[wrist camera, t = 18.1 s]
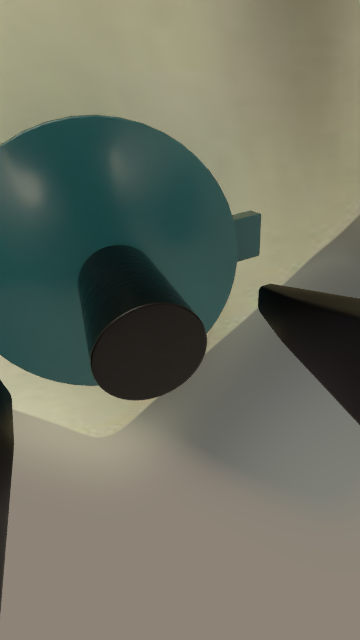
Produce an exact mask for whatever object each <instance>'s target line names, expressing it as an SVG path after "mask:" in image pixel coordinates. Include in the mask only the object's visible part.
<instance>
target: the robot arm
mask: <svg viewBox="0 0 360 640" xmlns="http://www.w3.org/2000/svg"><path fill="white" fill-rule="evenodd" d="M258 308H259V311H260V313H261V314H262V315H263V317H264V318H265V319H266V321H267V322H268V324H269V325H270V326H271V328H272V329H273V330H274V332H275V333H276V334H277V336H278V337H279V338H280V339H281V341H282V342H283V343H284V344H285V345H286V346H287V347H288V348H289V349H290V351H291V352H292V353H293V354H294V355H295V356H296V357H297V358H298V359H299V360H300V361H301V362H302V363H303V365H304V366H305V367H306V368H307V369H308V370H309V371H310V372H311V373H312V374H313V375H314V376H315V378H317V380H318V381H319V382H320V383H321V384H322V385H323V386H324V387H325V388H326V389H327V390H328V391H329V393H330V394H331V395H332V396H333V397H334V398H335V399H336V400H337V401H338V402H339V403H340V404H341V405H342V407H343V408H344V409H345V410H346V411H347V412H348V413H349V414H350V415H351V416H352V417H353V418H354V419H355V420H356V422H358V424H359V425H360V299H358V298H352V297H346V296H340V295H335V294H328V293H323V292H317V291H311V290H304V289H299V288H293V287H287V286H281V285H275V284H268V285H265V286H262V287H260V289H259V297H258ZM13 451H14V434H13V415H12V398H11V395H10V393H9V391H8V390H7V388H6V387H5V386H4V384H3V383H2V382H1V380H0V611H1V598H2V586H3V574H4V562H5V550H6V537H7V525H8V513H9V501H10V500H9V499H10V488H11V476H12V464H13Z"/></svg>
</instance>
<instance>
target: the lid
mask: <svg viewBox="0 0 360 640" xmlns="http://www.w3.org/2000/svg"><path fill="white" fill-rule="evenodd" d="M236 264H237V239H236V231H235V226H234V221H233V217H232V214H231V211H230V208H229V205H228V202H227V200H226V198H225V196H224V194H223V192H222V190H221V188H220V186H219V184H218V183H217V181H216V180H215V178H214V177H213V175H212V174H211V172H210V171H209V170H208V169H207V168H206V167H205V165H204V164H203V163H202V162H201V161H200V160H199V159H198V158H197V157H196V156H195V155H194V154H193V153H192V152H190V151H189V150H188V149H187V148H186V147H185V146H183V145H182V144H181V143H179V142H178V141H176V140H174V139H173V138H171V137H170V136H168V135H167V134H165V133H163V132H161V131H159V130H156V129H154V128H152V127H150V126H147V125H145V124H143V123H139V122H135V121H131V120H128V119H124V118H120V117H111V116H101V115H85V116H70V117H65V118H61V119H56V120H52V121H47V122H44V123H42V124H39V125H37V126H34V127H32V128H29V129H27V130H24V131H22V132H20V133H19V134H17V135H16V136H14V137H12V138H11V139H9V140H8V141H6V142H4V143H3V144H1V145H0V355H1V356H3V357H4V358H5V359H7V360H8V361H10V362H11V363H13V364H15V365H16V366H18V367H20V368H22V369H24V370H26V371H28V372H30V373H33V374H35V375H37V376H40V377H42V378H46V379H49V380H53V381H57V382H61V383H67V384H73V385H86V386H100V387H101V388H102V389H103V390H104V391H105V392H107V393H109V394H110V395H112V396H115V397H117V398H121V399H126V400H146V399H151V398H155V397H159V396H161V395H164V394H166V393H168V392H170V391H172V390H174V389H176V388H177V387H179V386H180V385H182V384H183V383H184V382H185V381H187V380H188V379H189V378H190V377H191V375H193V373H194V372H195V371H196V370H197V368H198V367H199V365H200V363H201V362H202V360H203V357H204V355H205V351H206V346H207V335H206V334H207V333H208V331H209V330H210V329H211V328H212V326H213V325H214V323H215V322H216V320H217V319H218V317H219V315H220V314H221V312H222V310H223V308H224V306H225V304H226V302H227V299H228V297H229V294H230V291H231V288H232V285H233V281H234V276H235V271H236Z"/></svg>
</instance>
